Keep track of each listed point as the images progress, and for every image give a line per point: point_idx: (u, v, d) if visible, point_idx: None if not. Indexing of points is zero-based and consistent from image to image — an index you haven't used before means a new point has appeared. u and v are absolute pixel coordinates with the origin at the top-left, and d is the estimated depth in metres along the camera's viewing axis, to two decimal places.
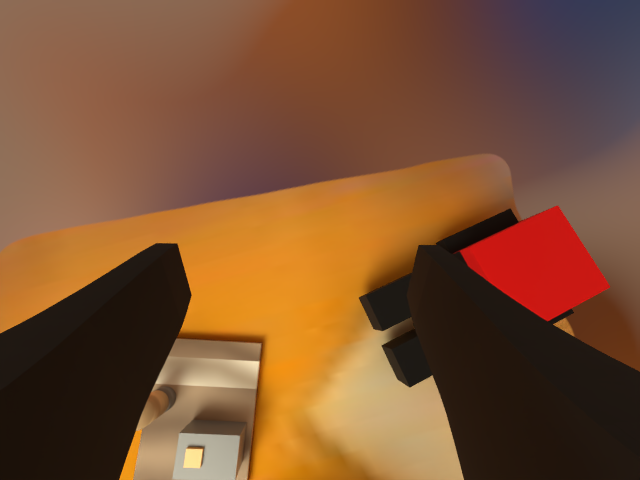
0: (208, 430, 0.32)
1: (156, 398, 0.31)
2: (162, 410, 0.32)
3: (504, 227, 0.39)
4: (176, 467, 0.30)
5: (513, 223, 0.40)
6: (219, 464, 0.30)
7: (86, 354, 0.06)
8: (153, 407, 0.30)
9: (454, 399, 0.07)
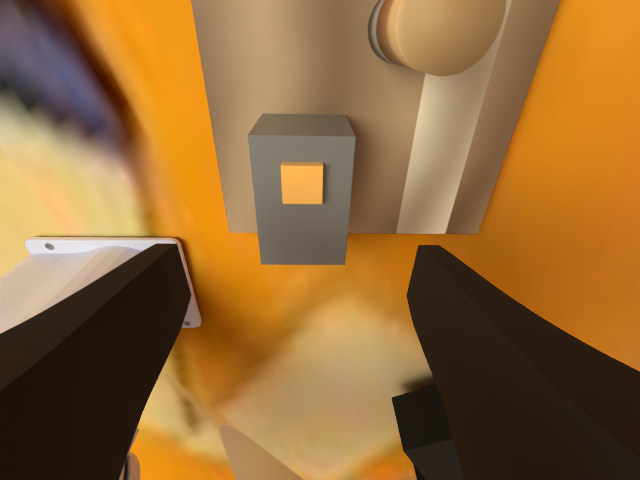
0: None
1: None
2: None
3: None
4: (275, 143, 0.11)
5: None
6: (289, 234, 0.14)
7: (85, 354, 0.06)
8: None
9: (454, 399, 0.07)
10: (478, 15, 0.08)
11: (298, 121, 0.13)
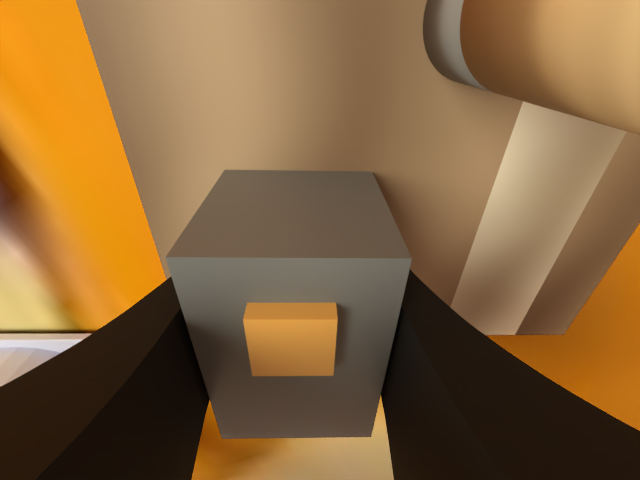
0: None
1: None
2: (549, 108, 0.04)
3: None
4: (231, 271, 0.05)
5: None
6: (270, 403, 0.07)
7: (171, 353, 0.06)
8: None
9: (389, 400, 0.07)
10: None
11: (287, 195, 0.07)
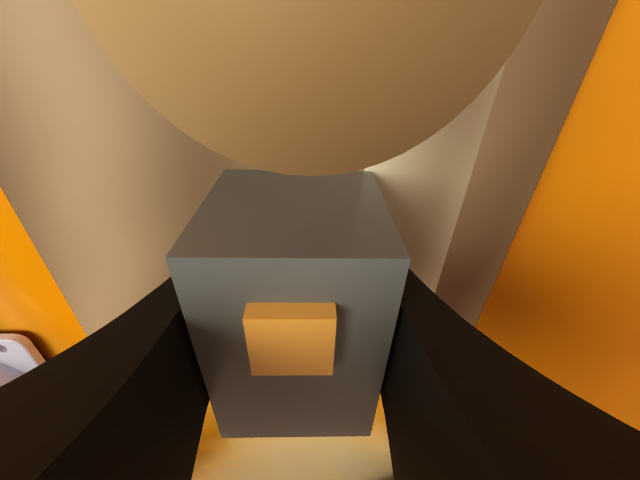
0: None
1: None
2: None
3: None
4: (230, 271, 0.05)
5: None
6: (269, 402, 0.07)
7: (171, 354, 0.06)
8: None
9: (389, 400, 0.07)
10: None
11: (286, 195, 0.07)
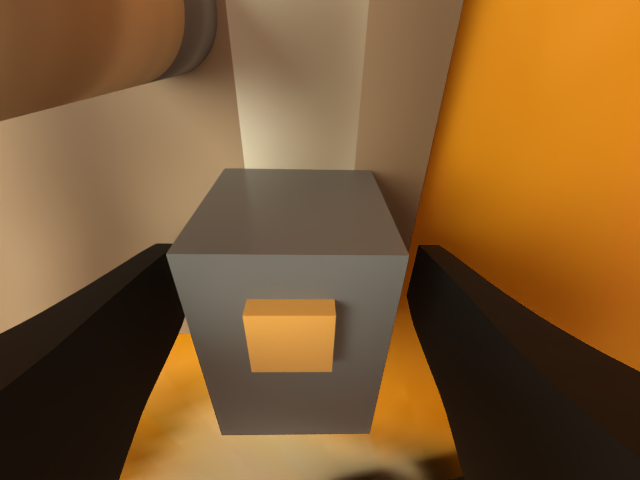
0: None
1: (107, 57, 0.03)
2: None
3: None
4: (230, 267, 0.05)
5: None
6: (269, 399, 0.07)
7: (86, 354, 0.06)
8: None
9: (454, 399, 0.07)
10: None
11: (286, 193, 0.07)
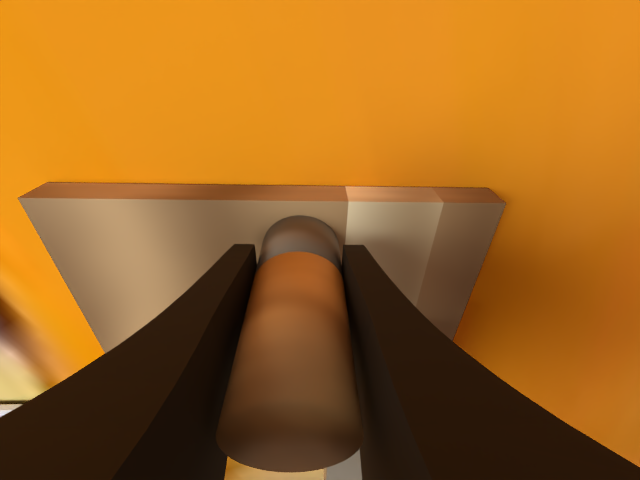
0: None
1: None
2: None
3: None
4: None
5: None
6: None
7: (210, 354, 0.06)
8: None
9: (359, 400, 0.07)
10: (325, 438, 0.05)
11: None
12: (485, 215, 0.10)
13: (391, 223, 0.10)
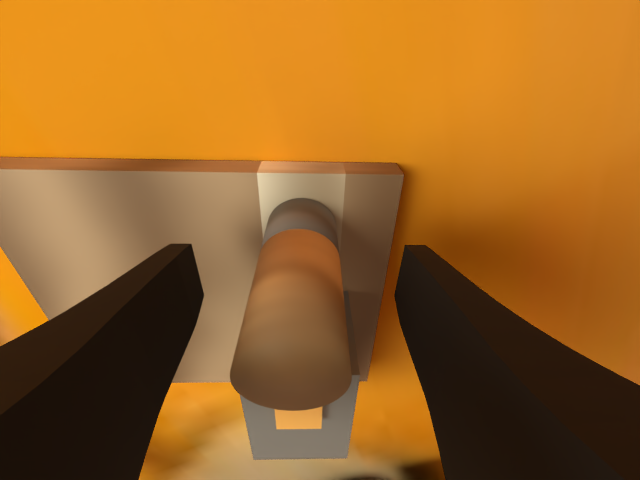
0: None
1: None
2: None
3: None
4: None
5: None
6: (284, 439, 0.12)
7: (109, 354, 0.06)
8: None
9: (437, 399, 0.07)
10: (319, 378, 0.07)
11: None
12: (387, 186, 0.11)
13: (300, 194, 0.11)
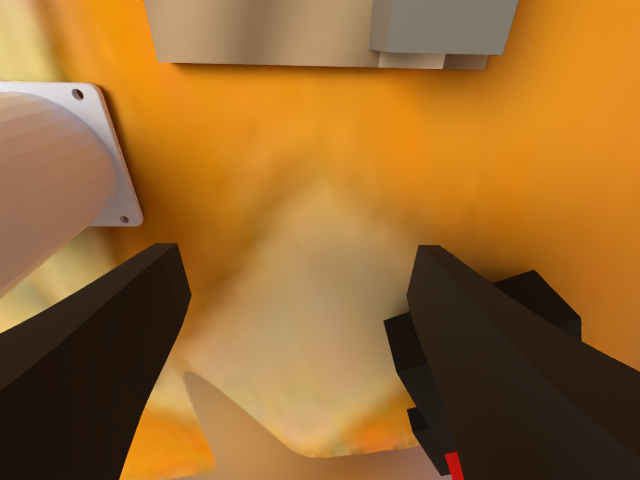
0: None
1: None
2: None
3: None
4: None
5: None
6: None
7: (86, 354, 0.06)
8: None
9: (454, 399, 0.07)
10: None
11: None
12: None
13: None
